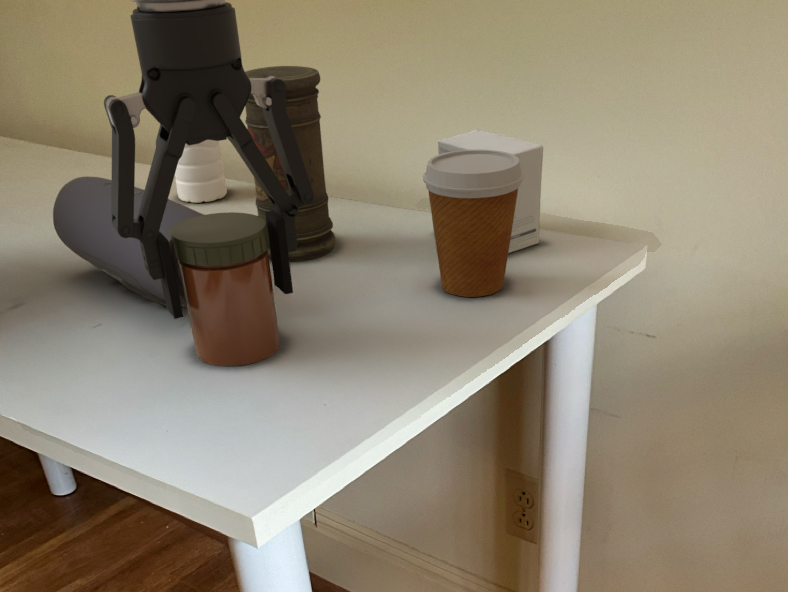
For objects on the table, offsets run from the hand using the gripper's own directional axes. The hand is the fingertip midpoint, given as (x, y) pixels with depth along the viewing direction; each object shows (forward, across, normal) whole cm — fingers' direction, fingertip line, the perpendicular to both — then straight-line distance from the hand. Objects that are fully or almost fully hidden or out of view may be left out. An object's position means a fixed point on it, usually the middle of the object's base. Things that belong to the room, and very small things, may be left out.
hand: (230, 300), depth 77 cm
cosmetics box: (+5, +34, +12) cm, 36 cm away
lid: (-6, 0, 0) cm, 6 cm away
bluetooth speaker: (+5, -3, +18) cm, 19 cm away
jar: (+4, 0, 0) cm, 4 cm away
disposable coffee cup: (+5, +25, +1) cm, 26 cm away
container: (+5, +14, +22) cm, 27 cm away
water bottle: (+5, +12, +48) cm, 50 cm away
